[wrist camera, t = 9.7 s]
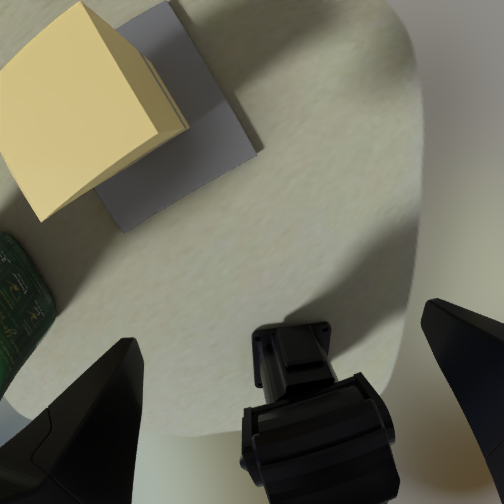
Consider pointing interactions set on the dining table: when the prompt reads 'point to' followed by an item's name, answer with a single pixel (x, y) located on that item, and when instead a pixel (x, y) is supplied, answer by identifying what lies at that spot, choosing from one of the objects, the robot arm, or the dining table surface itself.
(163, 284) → the dining table surface
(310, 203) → the dining table surface
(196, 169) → the mat
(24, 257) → the coffee jar
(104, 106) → the block
